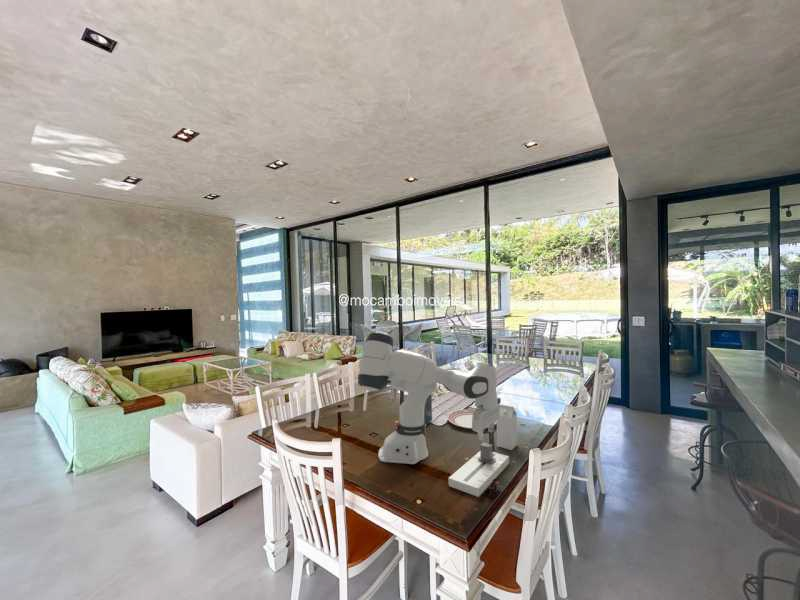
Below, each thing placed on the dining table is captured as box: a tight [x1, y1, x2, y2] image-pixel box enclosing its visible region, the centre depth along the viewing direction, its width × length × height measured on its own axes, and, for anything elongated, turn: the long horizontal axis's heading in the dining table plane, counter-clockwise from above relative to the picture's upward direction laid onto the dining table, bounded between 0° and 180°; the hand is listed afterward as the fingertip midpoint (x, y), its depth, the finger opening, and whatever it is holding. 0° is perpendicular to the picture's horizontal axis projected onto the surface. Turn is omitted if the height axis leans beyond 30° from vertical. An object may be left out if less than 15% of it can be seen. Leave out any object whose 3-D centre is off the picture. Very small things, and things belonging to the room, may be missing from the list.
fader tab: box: [478, 442, 496, 464], centre depth 139 cm, size 4×6×6 cm
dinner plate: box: [447, 409, 497, 430], centre depth 190 cm, size 28×27×3 cm
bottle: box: [424, 394, 433, 424], centre depth 195 cm, size 10×10×30 cm
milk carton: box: [496, 403, 518, 451], centre depth 160 cm, size 7×7×19 cm
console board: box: [448, 450, 510, 498], centre depth 135 cm, size 30×12×3 cm, turn 142°
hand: (486, 435), depth 140 cm, fingers open, 8 cm apart
